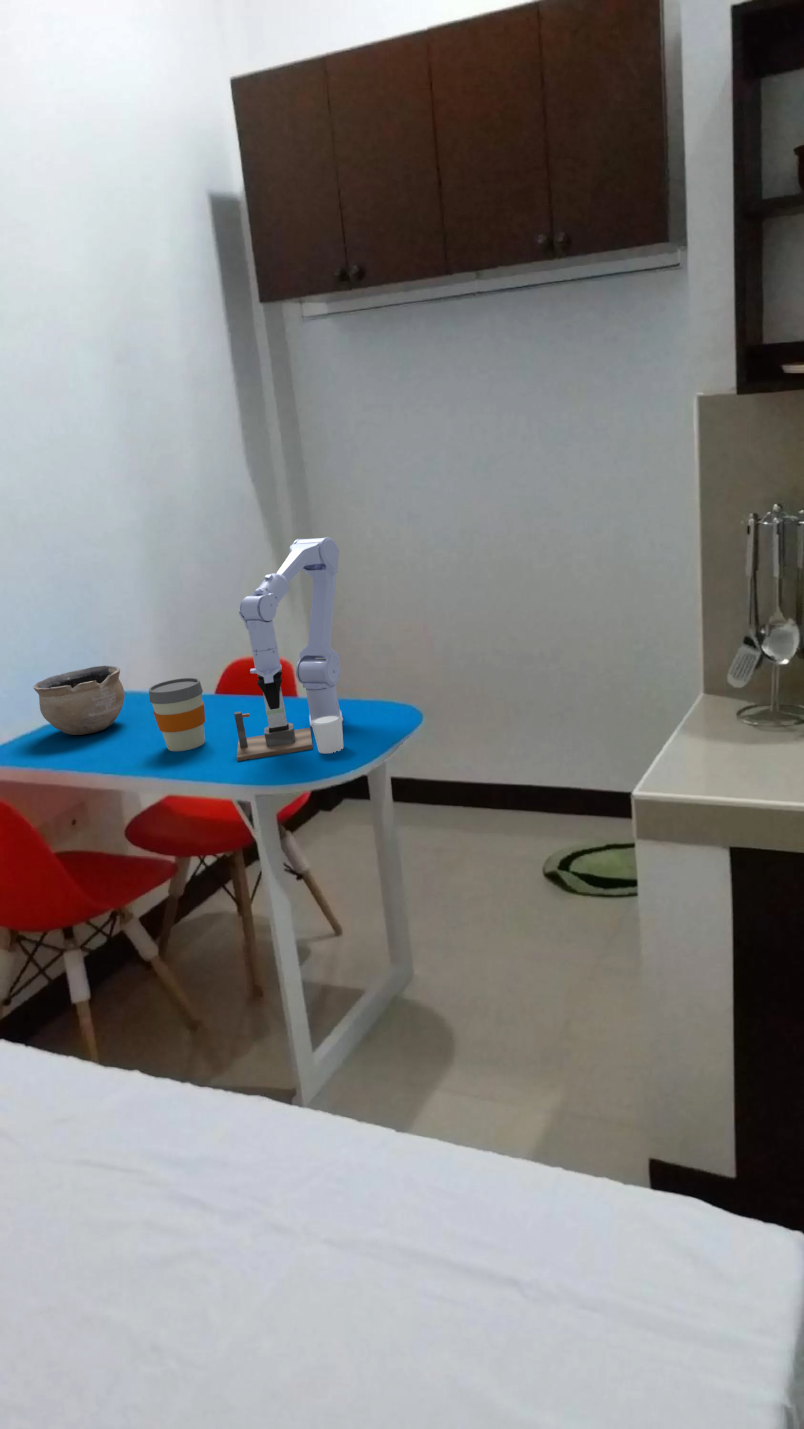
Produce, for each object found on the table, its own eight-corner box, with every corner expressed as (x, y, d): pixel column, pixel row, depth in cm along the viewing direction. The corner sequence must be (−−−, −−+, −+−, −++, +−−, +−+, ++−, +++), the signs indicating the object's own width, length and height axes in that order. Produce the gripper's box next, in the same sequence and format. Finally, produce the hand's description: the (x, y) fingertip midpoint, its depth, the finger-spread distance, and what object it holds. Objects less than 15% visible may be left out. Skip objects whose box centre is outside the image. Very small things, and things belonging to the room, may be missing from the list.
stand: (239, 743, 256) (232, 706, 254) (310, 731, 257) (304, 694, 255) (237, 761, 243) (230, 722, 240) (312, 748, 244) (306, 709, 241)
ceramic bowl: (65, 749, 272) (51, 691, 268) (33, 736, 289) (20, 682, 285) (145, 724, 285) (133, 668, 281) (110, 712, 302) (98, 660, 297)
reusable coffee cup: (161, 757, 254) (148, 696, 250) (158, 743, 265) (146, 684, 261) (215, 746, 256) (203, 685, 252) (209, 732, 268) (198, 674, 264)
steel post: (269, 723, 251) (263, 690, 248) (286, 720, 251) (281, 687, 249) (269, 728, 247) (262, 694, 244) (287, 725, 247) (281, 691, 245)
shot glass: (312, 749, 244) (307, 719, 242) (340, 742, 246) (336, 712, 244) (320, 756, 238) (315, 726, 236) (350, 749, 240) (345, 719, 238)
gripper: (247, 644, 250) (257, 700, 254) (246, 658, 236) (256, 717, 240) (278, 639, 251) (287, 695, 255) (278, 652, 237) (288, 712, 241)
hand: (274, 706), depth 248 cm, fingers closed on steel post, 4 cm apart
